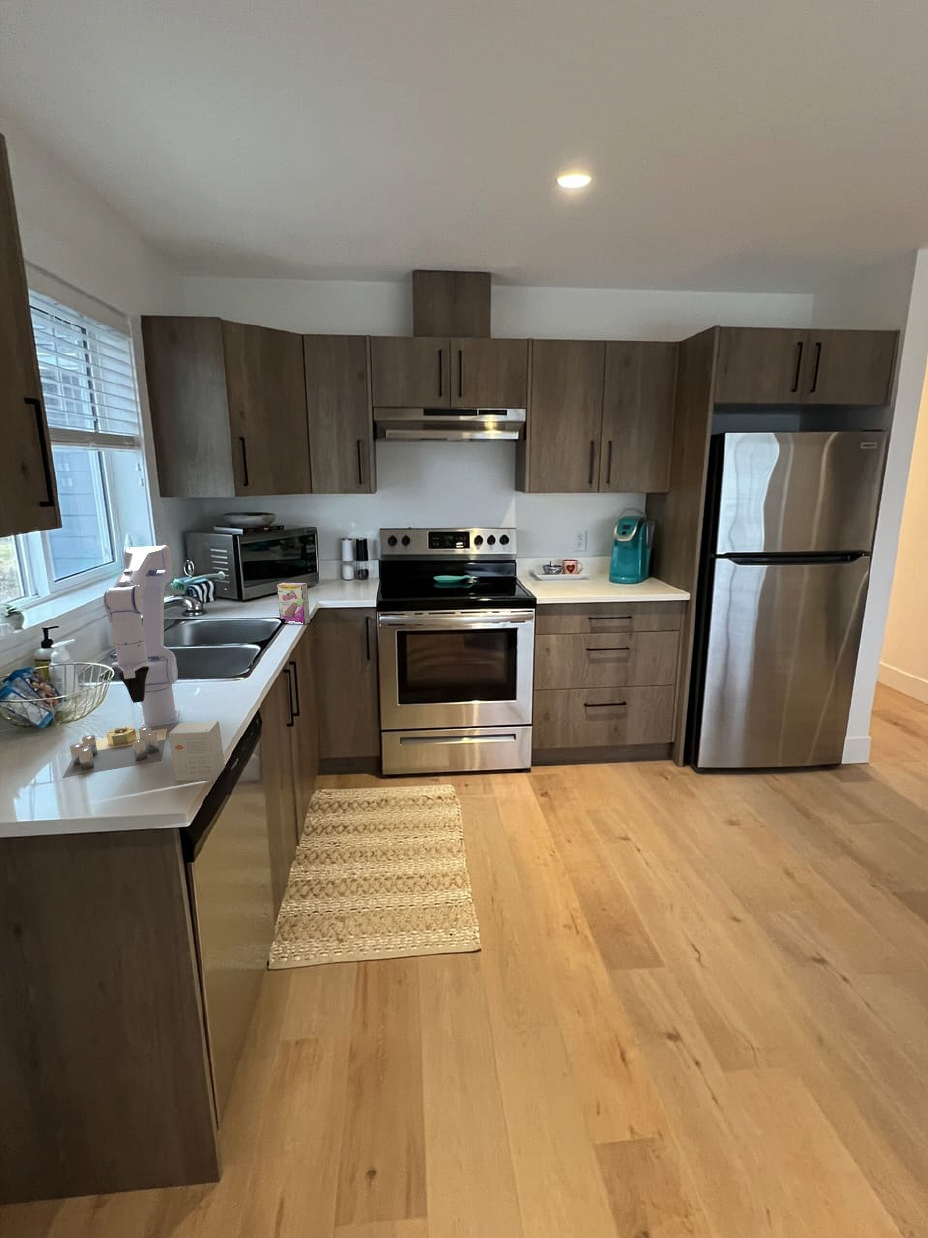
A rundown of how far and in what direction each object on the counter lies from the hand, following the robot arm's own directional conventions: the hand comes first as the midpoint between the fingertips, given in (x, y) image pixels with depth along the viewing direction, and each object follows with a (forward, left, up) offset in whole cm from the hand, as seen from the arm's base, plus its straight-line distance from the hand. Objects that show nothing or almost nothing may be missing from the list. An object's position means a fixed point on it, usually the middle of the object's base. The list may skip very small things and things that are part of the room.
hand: (138, 701), depth 139 cm
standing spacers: (+5, -5, -10) cm, 12 cm away
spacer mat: (+2, -5, -10) cm, 12 cm away
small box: (+21, +12, -11) cm, 27 cm away
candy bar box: (-108, +45, -11) cm, 118 cm away
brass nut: (-4, -5, -10) cm, 12 cm away
